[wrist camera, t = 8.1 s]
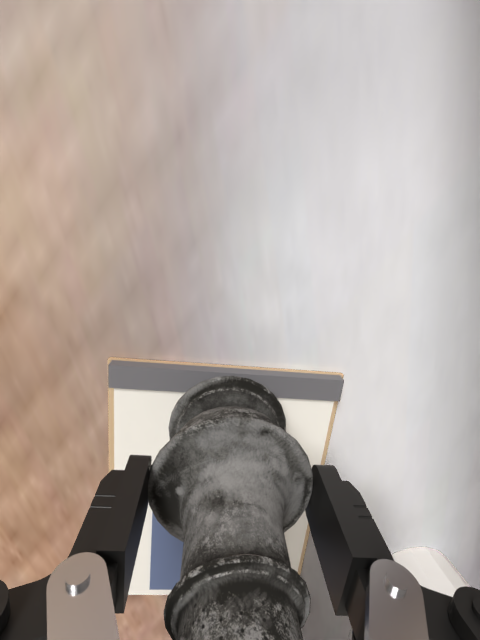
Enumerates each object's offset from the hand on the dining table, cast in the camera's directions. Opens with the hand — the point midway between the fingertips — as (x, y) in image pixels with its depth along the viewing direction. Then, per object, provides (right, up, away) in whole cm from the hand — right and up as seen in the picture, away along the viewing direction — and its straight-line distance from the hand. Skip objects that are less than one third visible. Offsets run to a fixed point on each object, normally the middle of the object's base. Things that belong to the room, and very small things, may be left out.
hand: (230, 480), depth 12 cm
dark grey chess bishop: (0, +1, +3) cm, 3 cm away
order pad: (-1, -4, +7) cm, 9 cm away
